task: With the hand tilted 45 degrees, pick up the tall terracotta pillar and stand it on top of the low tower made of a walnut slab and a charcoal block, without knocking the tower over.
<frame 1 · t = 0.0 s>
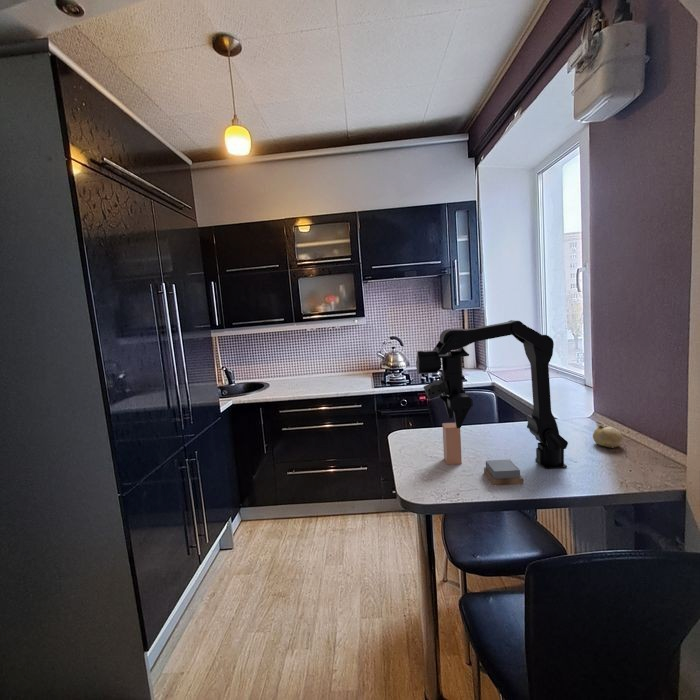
hand: (454, 422, 111), 15 cm above the breakfast bar, tool pointing down, fingers open, 9 cm apart
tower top: (502, 472, 105), point 2 cm above the breakfast bar, touching tower base
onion: (607, 446, 121), on the breakfast bar
pillar: (452, 461, 118), on the breakfast bar
tower base: (503, 480, 105), on the breakfast bar, touching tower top
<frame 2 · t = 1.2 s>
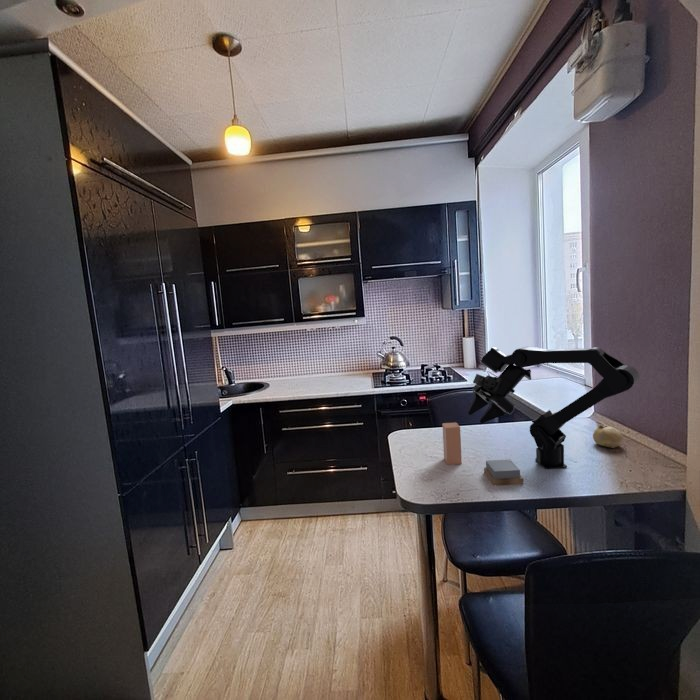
hand: (474, 418, 117), 14 cm above the breakfast bar, tool tilted 45°, fingers open, 9 cm apart
nothing on the breakfast bar moved.
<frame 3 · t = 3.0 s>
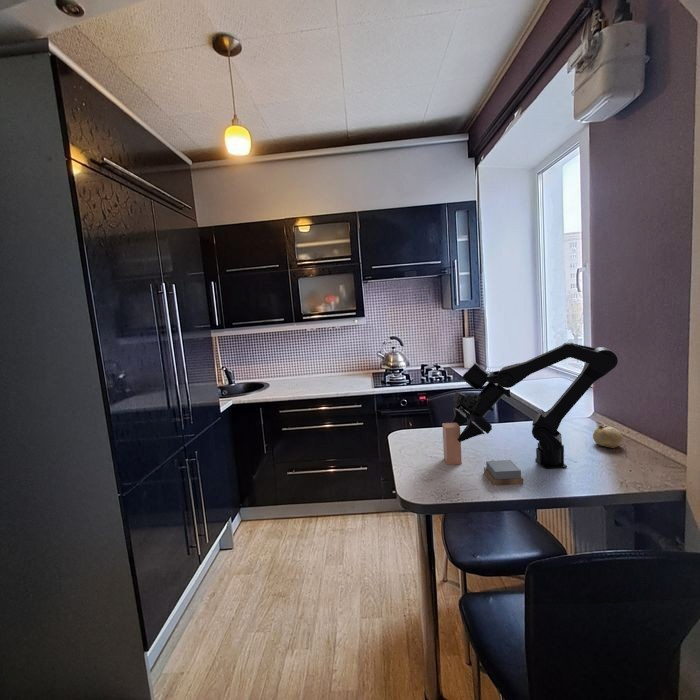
hand: (453, 435, 117), 8 cm above the breakfast bar, tool tilted 45°, fingers open, 9 cm apart
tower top: (503, 473, 105), point 2 cm above the breakfast bar
tower base: (503, 480, 105), on the breakfast bar
everything else where it was.
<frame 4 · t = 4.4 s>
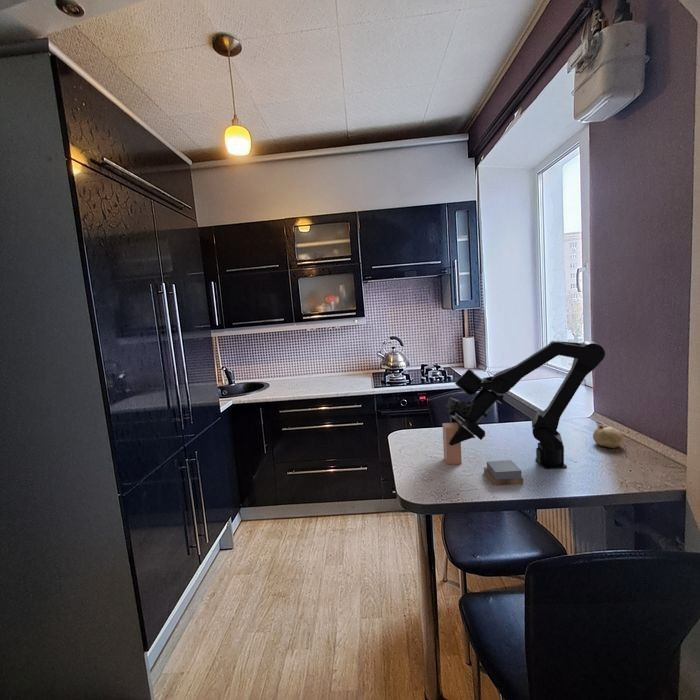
hand: (447, 441, 117), 7 cm above the breakfast bar, tool tilted 45°, fingers closed on pillar, 5 cm apart
pillar: (452, 461, 118), on the breakfast bar, touching gripper
everything else where it was.
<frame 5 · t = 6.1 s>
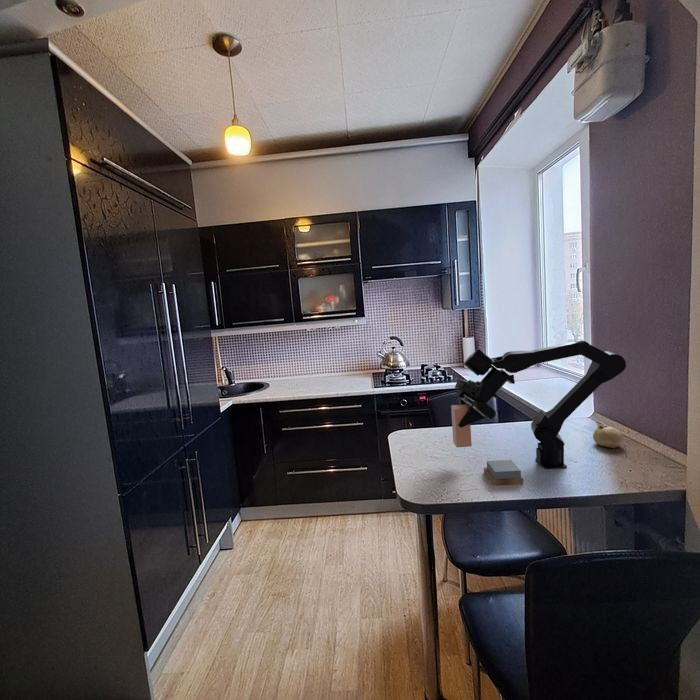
hand: (456, 424, 114), 13 cm above the breakfast bar, tool tilted 45°, fingers closed on pillar, 5 cm apart
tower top: (503, 472, 105), point 1 cm above the breakfast bar, touching tower base
pillar: (462, 444, 115), point 7 cm above the breakfast bar, touching gripper
tower base: (502, 480, 105), on the breakfast bar, touching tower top
everything else where it was.
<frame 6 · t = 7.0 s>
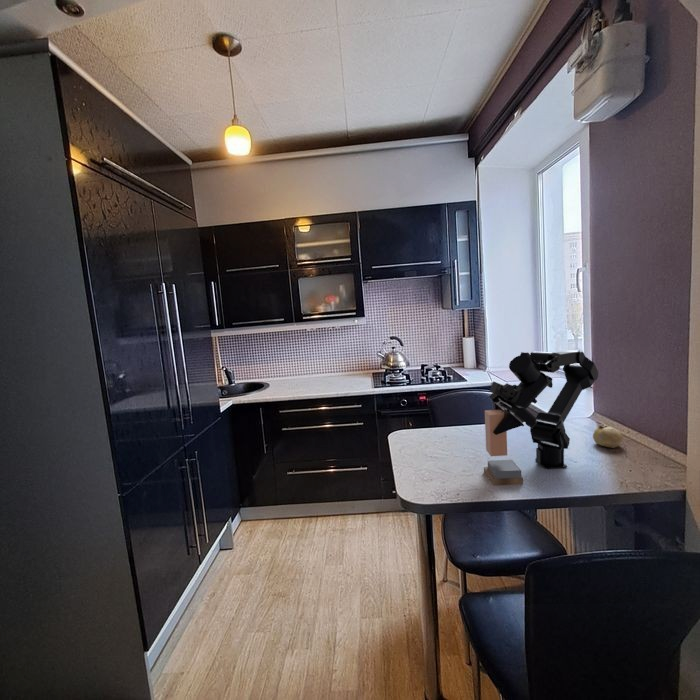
hand: (490, 430, 105), 14 cm above the breakfast bar, tool tilted 45°, fingers closed on pillar, 5 cm apart
pillar: (496, 452, 106), point 7 cm above the breakfast bar, touching gripper
everything else where it was.
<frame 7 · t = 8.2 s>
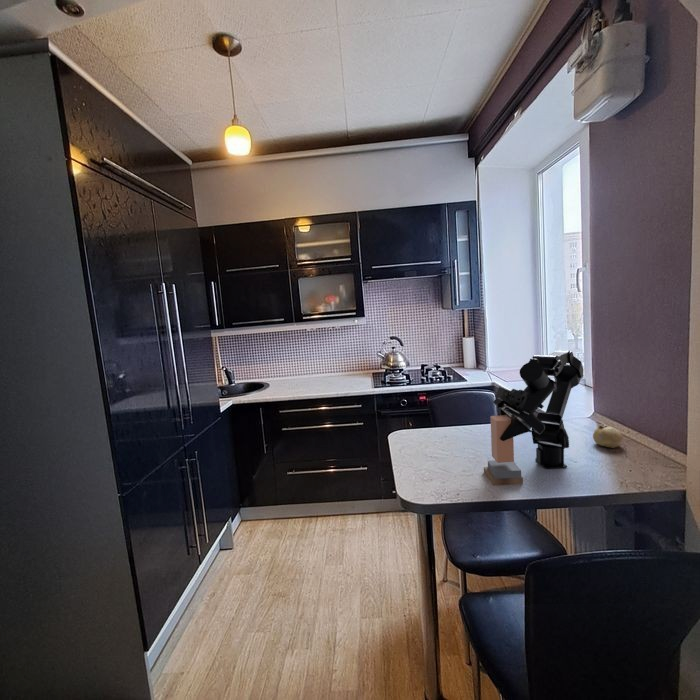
hand: (497, 436, 103), 12 cm above the breakfast bar, tool tilted 45°, fingers closed on pillar, 5 cm apart
pillar: (502, 458, 104), point 6 cm above the breakfast bar, touching gripper
everything else where it was.
when the fingers open (12 cm above the breakfast bar, at t = 8.2 s): pillar drops 2 cm, resting on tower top.
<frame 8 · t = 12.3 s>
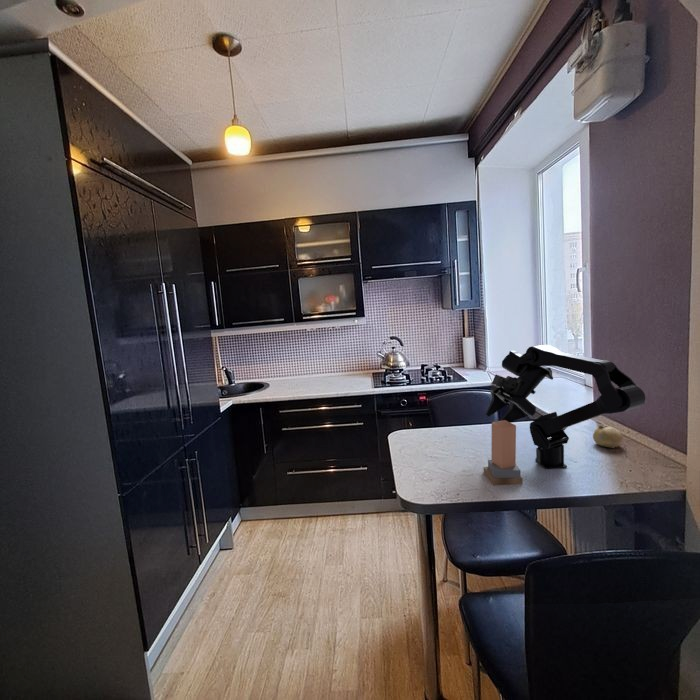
hand: (493, 419, 114), 14 cm above the breakfast bar, tool tilted 45°, fingers open, 9 cm apart
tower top: (503, 472, 105), point 2 cm above the breakfast bar, touching pillar, tower base
pillar: (503, 463, 105), point 4 cm above the breakfast bar, touching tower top
everything else where it was.
at the end: pillar 0.5 cm off-centre on the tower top, point 2.4 cm above the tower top's base; pillar tilted 4°; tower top 0.4 cm off-centre on the tower base, point 2.2 cm above the tower base's base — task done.
